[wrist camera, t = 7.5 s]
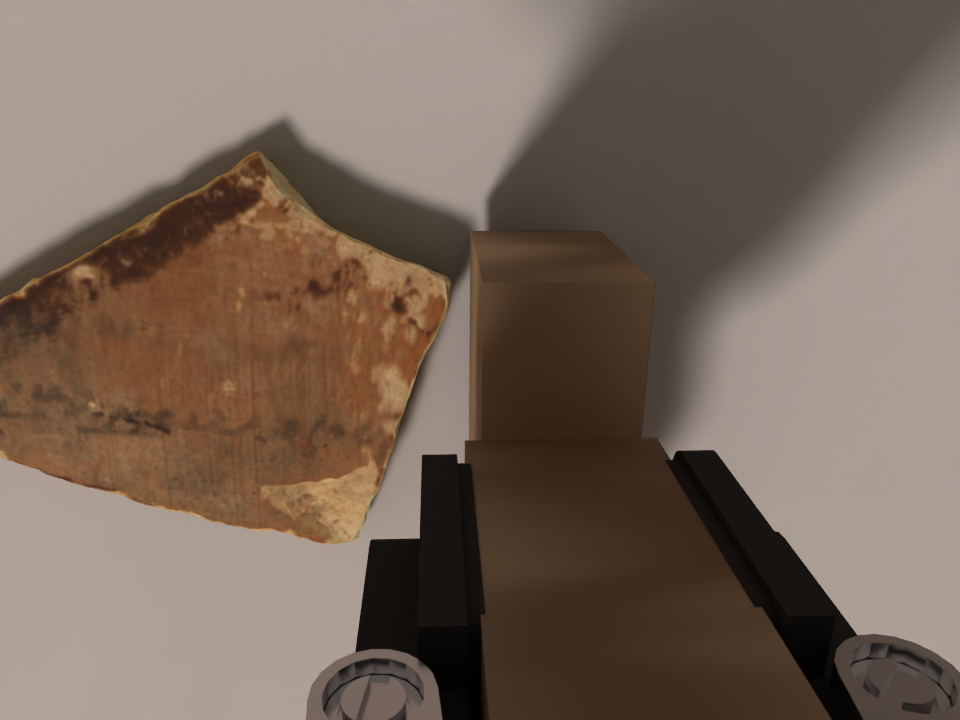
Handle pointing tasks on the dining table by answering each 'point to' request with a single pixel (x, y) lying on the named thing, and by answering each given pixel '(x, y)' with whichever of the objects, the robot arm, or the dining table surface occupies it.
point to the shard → (222, 361)
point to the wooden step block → (595, 510)
